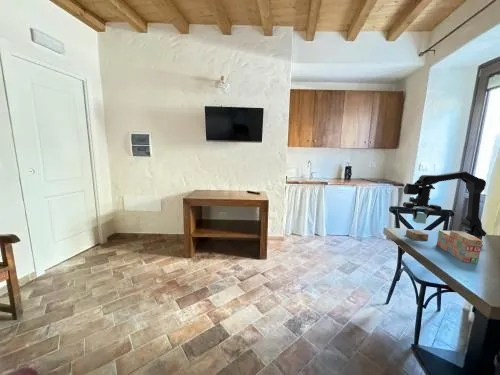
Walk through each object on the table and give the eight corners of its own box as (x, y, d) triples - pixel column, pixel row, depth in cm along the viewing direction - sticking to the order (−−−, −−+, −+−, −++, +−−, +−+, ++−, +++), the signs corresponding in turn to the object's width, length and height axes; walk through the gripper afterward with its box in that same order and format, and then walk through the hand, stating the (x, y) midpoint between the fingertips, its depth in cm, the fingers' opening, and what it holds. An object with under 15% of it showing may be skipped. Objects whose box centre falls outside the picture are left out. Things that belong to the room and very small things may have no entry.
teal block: (421, 221, 139) (423, 212, 138) (425, 223, 134) (427, 214, 133) (412, 220, 140) (413, 211, 139) (416, 222, 135) (417, 213, 134)
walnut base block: (418, 235, 142) (419, 230, 142) (427, 240, 135) (428, 234, 134) (405, 235, 143) (406, 229, 142) (414, 240, 135) (415, 233, 134)
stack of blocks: (436, 244, 128) (439, 224, 126) (448, 246, 127) (452, 226, 125) (463, 262, 107) (468, 238, 105) (478, 264, 106) (483, 240, 104)
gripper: (433, 194, 140) (429, 217, 142) (401, 192, 144) (397, 214, 147) (444, 197, 129) (439, 223, 132) (408, 195, 134) (404, 219, 136)
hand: (419, 219), depth 137 cm, fingers closed on teal block, 5 cm apart
